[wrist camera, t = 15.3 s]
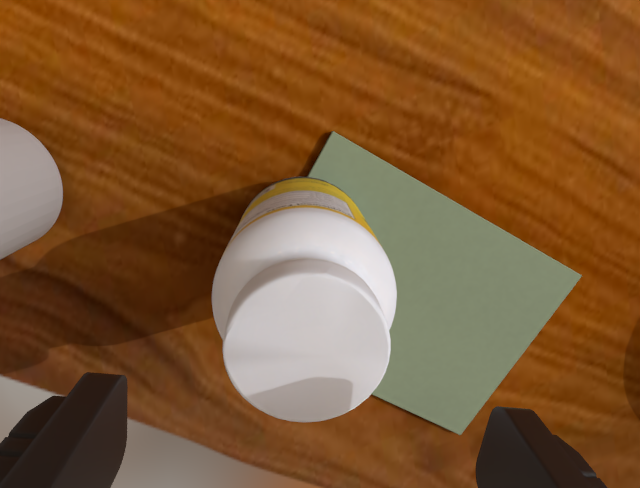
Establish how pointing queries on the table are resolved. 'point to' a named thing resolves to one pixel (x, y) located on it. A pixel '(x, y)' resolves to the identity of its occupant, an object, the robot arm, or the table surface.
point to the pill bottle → (304, 302)
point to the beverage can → (26, 188)
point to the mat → (446, 288)
